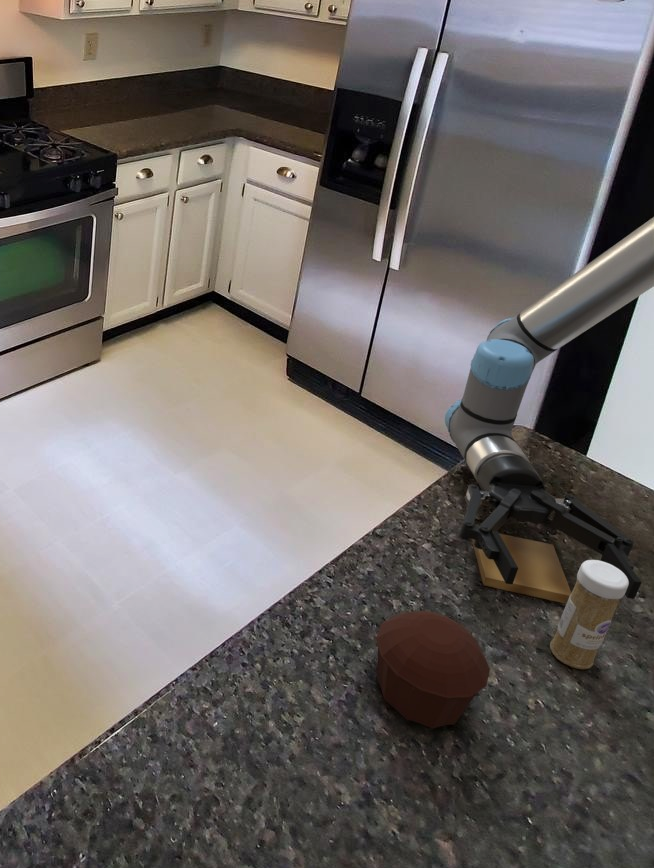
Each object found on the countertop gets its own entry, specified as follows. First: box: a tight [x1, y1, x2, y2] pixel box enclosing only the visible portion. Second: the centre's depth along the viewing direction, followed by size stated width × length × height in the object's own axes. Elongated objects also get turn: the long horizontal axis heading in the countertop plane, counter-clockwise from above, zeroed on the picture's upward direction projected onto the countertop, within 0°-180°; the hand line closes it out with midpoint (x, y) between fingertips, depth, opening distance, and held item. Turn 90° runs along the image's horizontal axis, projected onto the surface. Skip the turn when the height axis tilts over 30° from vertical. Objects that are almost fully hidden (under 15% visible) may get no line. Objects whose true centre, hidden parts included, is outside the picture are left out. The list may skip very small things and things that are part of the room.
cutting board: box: [471, 533, 572, 605], centre depth 110 cm, size 10×10×2 cm
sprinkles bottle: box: [549, 559, 629, 670], centre depth 94 cm, size 5×5×14 cm
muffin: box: [375, 610, 491, 729], centre depth 91 cm, size 12×11×10 cm
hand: (572, 583), depth 97 cm, fingers open, 13 cm apart
